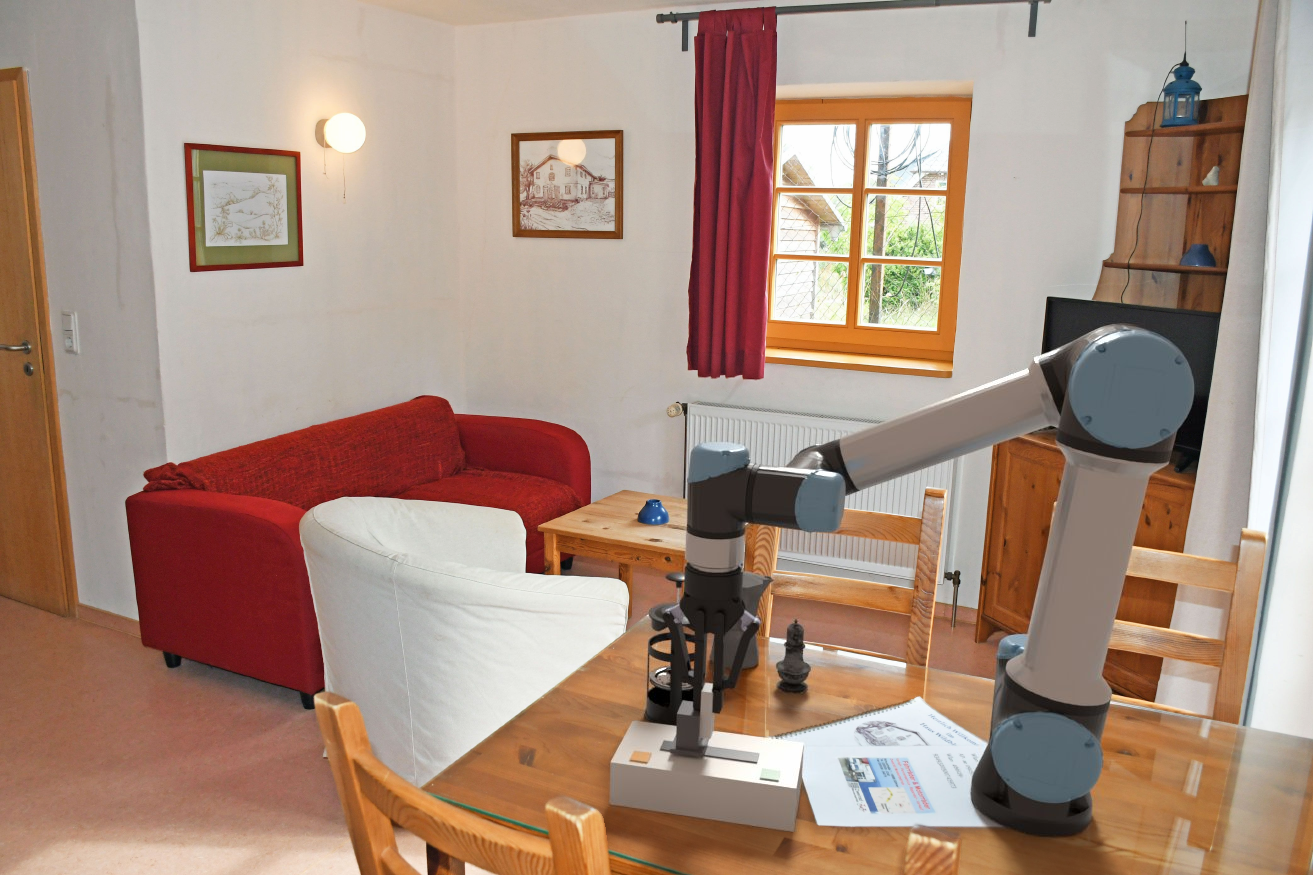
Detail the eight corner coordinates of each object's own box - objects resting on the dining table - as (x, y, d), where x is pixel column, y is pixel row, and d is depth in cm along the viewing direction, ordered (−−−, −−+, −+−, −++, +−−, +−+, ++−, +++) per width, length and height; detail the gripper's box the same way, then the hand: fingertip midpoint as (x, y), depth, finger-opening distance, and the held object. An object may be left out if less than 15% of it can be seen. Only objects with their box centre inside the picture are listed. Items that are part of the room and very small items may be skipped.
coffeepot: (760, 646, 184) (764, 552, 180) (778, 666, 175) (784, 568, 171) (679, 652, 180) (682, 556, 176) (694, 674, 171) (698, 573, 168)
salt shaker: (771, 691, 165) (775, 622, 163) (778, 676, 171) (781, 610, 168) (807, 696, 164) (811, 627, 161) (812, 681, 169) (816, 614, 167)
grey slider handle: (709, 739, 135) (710, 702, 134) (702, 757, 130) (704, 718, 129) (677, 734, 136) (678, 698, 135) (669, 752, 131) (670, 714, 130)
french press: (705, 732, 151) (711, 587, 146) (643, 730, 151) (647, 585, 146) (703, 697, 162) (708, 562, 158) (645, 695, 162) (649, 560, 158)
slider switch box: (801, 782, 137) (804, 741, 136) (793, 831, 126) (796, 786, 124) (632, 759, 142) (632, 718, 141) (609, 804, 131) (610, 760, 129)
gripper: (768, 559, 130) (759, 726, 135) (670, 549, 133) (664, 714, 137) (761, 577, 123) (751, 753, 127) (658, 566, 126) (652, 739, 130)
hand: (706, 733), depth 132 cm, fingers closed
